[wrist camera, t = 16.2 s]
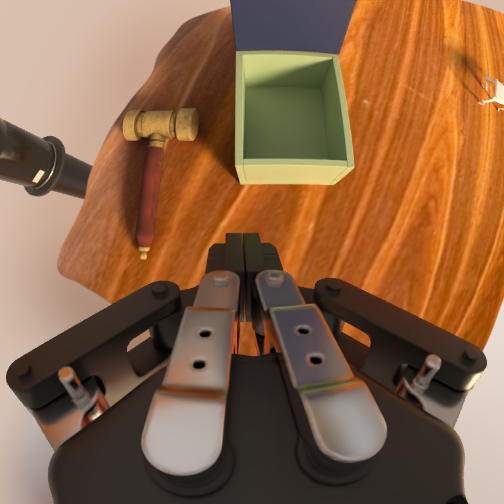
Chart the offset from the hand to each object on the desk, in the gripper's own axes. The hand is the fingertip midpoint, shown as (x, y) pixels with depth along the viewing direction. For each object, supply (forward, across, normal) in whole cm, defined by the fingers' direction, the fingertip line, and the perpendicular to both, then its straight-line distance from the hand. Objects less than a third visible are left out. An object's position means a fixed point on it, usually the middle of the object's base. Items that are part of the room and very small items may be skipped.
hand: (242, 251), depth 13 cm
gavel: (+27, -11, -2) cm, 29 cm away
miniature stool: (+31, +51, +19) cm, 63 cm away
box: (+28, +7, +5) cm, 29 cm away
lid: (+16, +5, +20) cm, 26 cm away
